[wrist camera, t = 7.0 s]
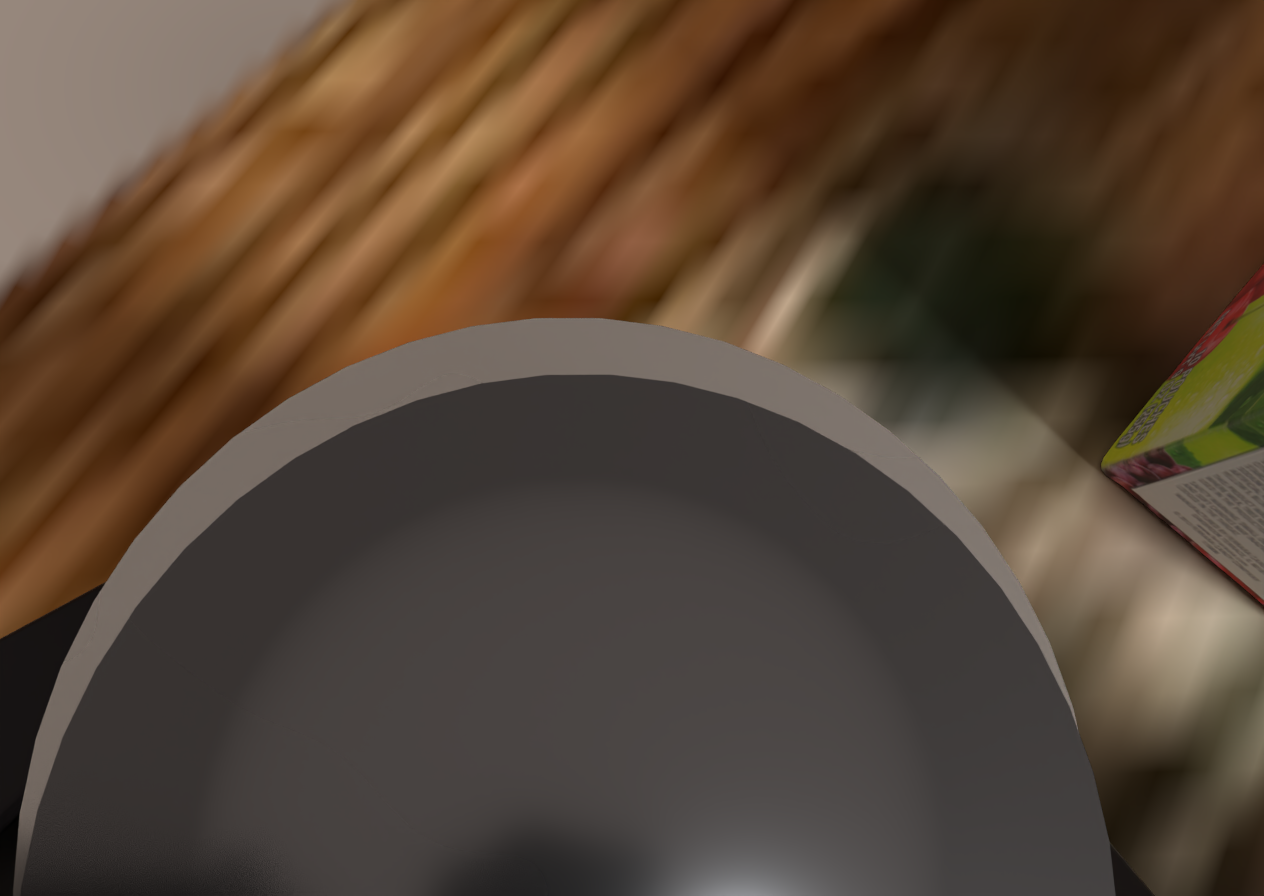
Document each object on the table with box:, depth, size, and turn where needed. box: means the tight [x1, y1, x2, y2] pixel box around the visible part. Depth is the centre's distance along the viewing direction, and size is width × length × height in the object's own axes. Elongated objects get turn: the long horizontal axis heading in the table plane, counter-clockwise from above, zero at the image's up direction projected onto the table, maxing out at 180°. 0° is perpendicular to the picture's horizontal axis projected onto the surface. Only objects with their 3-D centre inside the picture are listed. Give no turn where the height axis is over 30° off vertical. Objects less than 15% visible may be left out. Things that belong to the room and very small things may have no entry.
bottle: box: [13, 318, 1116, 896], centre depth 9 cm, size 5×5×12 cm
